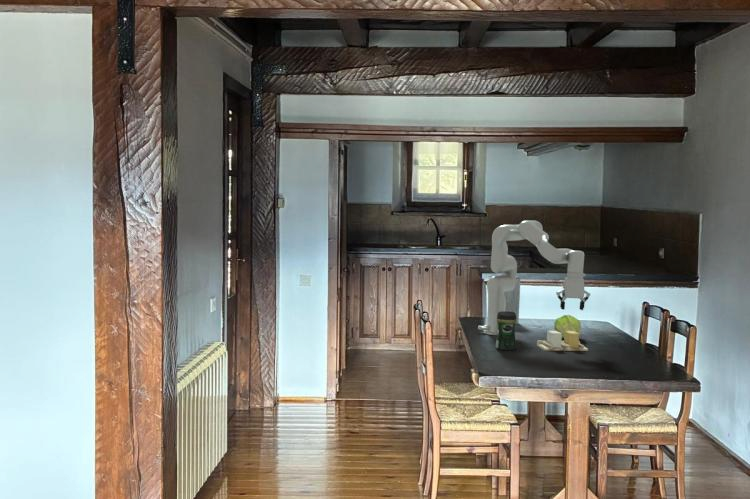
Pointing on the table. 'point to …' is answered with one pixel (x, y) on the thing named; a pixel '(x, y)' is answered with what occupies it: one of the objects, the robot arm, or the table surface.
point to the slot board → (564, 347)
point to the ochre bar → (571, 339)
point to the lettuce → (567, 324)
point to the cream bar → (554, 338)
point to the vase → (513, 299)
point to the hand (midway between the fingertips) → (572, 309)
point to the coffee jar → (506, 330)
